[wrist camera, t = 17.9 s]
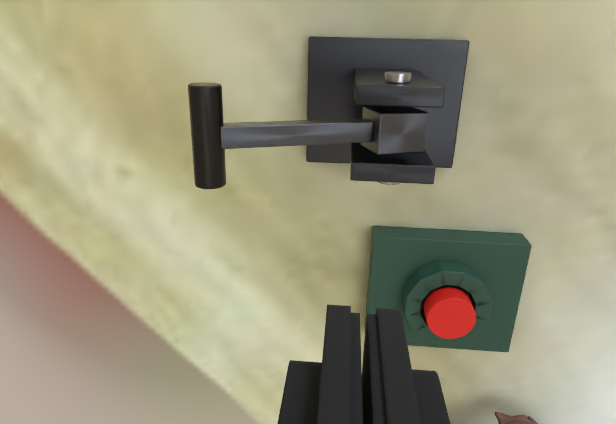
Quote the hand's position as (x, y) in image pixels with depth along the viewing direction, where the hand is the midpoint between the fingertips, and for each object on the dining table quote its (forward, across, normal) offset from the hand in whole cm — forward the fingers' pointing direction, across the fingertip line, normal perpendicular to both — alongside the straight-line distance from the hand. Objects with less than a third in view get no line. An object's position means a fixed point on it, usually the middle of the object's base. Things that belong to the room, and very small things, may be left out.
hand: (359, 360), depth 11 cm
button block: (+27, -8, +13) cm, 31 cm away
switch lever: (+17, +3, -2) cm, 17 cm away
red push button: (+23, -8, +13) cm, 28 cm away
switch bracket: (+27, -2, -2) cm, 27 cm away
